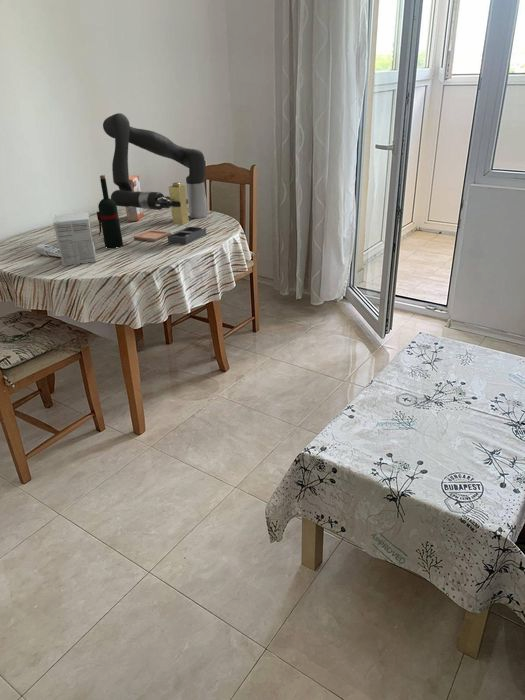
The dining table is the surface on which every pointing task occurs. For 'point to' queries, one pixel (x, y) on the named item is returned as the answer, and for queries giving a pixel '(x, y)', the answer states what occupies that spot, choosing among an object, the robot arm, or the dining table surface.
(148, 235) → the terracotta dish
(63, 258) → the supplement box
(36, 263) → the dining table surface
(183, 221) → the tan tall block
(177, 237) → the grey tray with studs
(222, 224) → the dining table surface
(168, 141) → the robot arm
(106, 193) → the wine bottle
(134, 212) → the cracker box
